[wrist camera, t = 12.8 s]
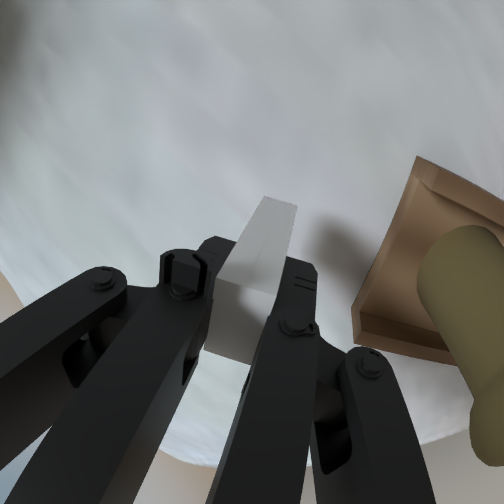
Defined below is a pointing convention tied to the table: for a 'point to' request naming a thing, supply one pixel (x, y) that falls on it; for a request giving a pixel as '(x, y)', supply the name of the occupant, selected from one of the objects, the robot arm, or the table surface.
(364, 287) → the tray
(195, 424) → the table surface
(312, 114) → the table surface
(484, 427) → the cork
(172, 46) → the table surface
